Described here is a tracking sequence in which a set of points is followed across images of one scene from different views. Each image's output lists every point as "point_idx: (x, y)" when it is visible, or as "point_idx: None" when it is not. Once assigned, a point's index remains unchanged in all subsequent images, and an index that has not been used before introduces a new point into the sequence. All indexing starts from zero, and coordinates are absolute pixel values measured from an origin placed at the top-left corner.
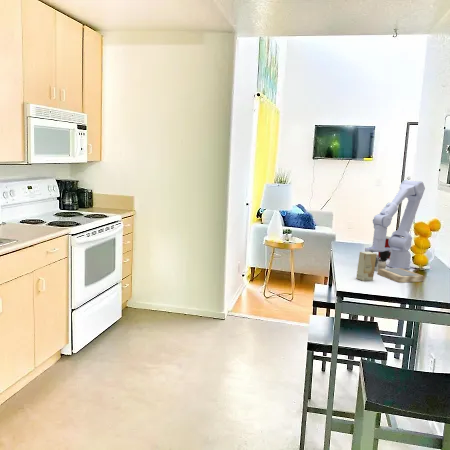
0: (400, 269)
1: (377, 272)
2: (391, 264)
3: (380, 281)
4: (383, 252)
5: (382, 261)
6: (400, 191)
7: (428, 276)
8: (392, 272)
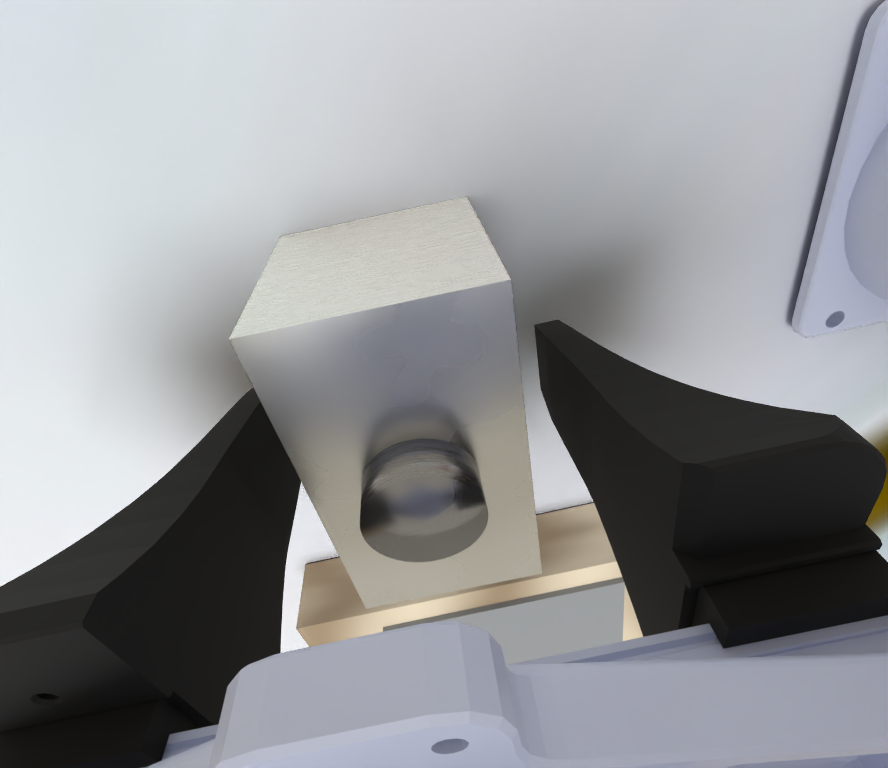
0: (609, 616)
1: (303, 584)
2: (883, 213)
3: None
4: (676, 613)
5: (461, 583)
6: None
7: (882, 544)
8: None
